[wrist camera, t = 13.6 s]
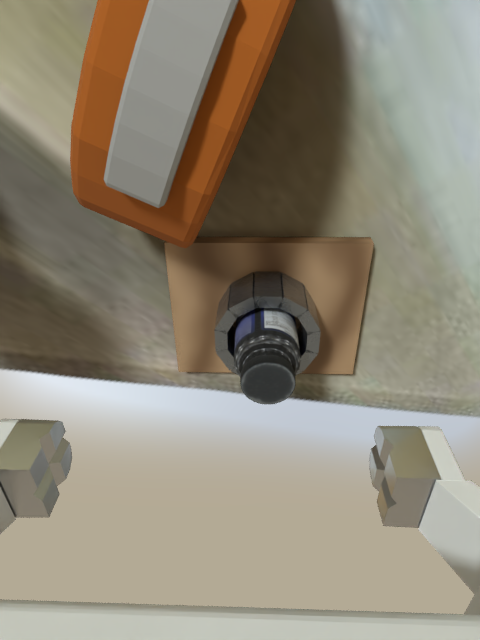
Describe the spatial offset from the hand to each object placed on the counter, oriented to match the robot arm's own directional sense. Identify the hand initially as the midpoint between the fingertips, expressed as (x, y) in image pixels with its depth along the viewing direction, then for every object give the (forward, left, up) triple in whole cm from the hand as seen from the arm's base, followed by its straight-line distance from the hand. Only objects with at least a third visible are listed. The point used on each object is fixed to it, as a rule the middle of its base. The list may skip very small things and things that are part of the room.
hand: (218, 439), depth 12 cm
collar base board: (+2, -16, -33) cm, 37 cm away
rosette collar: (+2, -16, -31) cm, 35 cm away
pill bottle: (+2, -16, -32) cm, 36 cm away
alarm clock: (-4, +6, -33) cm, 34 cm away
